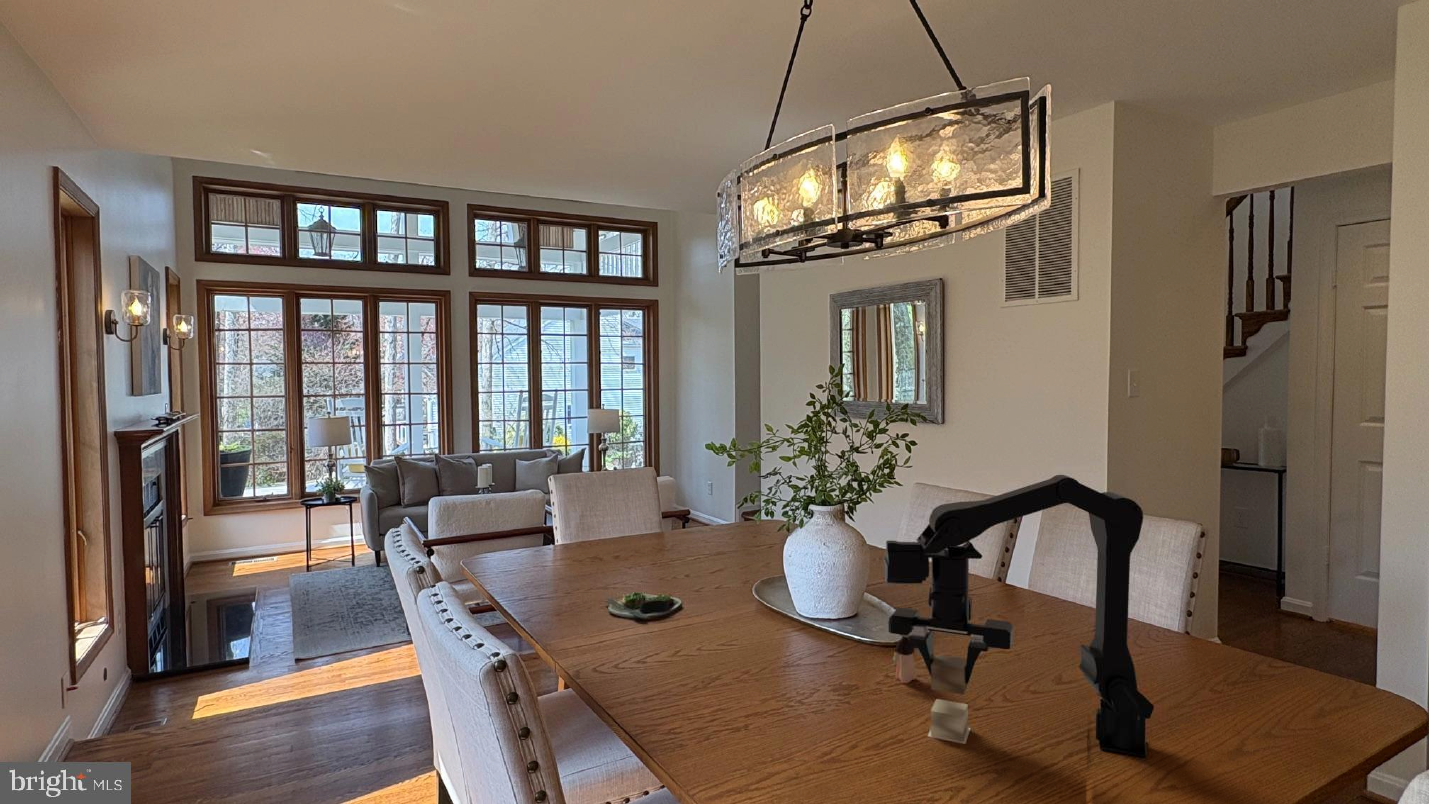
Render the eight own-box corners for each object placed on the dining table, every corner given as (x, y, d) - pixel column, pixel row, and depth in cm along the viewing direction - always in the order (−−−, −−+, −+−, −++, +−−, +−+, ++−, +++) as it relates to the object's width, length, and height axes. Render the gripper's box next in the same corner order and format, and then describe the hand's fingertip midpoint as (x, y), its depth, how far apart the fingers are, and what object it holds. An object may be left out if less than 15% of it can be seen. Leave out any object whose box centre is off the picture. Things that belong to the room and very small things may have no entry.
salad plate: (586, 615, 190) (586, 597, 189) (626, 596, 205) (626, 579, 205) (653, 626, 181) (653, 607, 181) (689, 606, 197) (689, 588, 197)
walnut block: (968, 683, 125) (968, 658, 125) (963, 694, 120) (963, 669, 120) (937, 677, 127) (936, 654, 127) (931, 689, 123) (931, 664, 122)
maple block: (967, 728, 125) (967, 704, 125) (963, 741, 121) (963, 716, 120) (936, 722, 127) (936, 698, 127) (930, 735, 123) (930, 710, 123)
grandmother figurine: (904, 676, 149) (905, 611, 149) (923, 681, 147) (923, 615, 146) (886, 688, 143) (886, 622, 143) (905, 694, 141) (905, 626, 140)
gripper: (1016, 578, 126) (1016, 671, 127) (902, 566, 134) (903, 654, 135) (1010, 596, 116) (1009, 697, 117) (887, 582, 124) (887, 677, 125)
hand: (950, 680), depth 124 cm, fingers closed on walnut block, 5 cm apart
